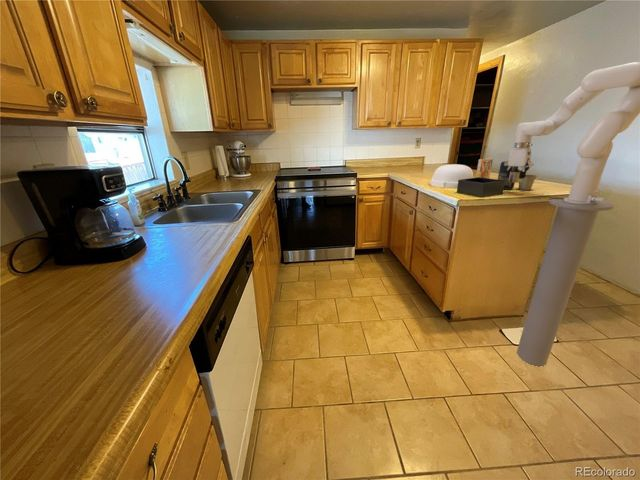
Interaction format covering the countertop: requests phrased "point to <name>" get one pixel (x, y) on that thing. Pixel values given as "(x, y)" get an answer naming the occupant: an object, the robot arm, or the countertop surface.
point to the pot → (515, 176)
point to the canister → (505, 176)
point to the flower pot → (527, 182)
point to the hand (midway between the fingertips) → (515, 177)
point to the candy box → (484, 168)
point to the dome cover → (450, 175)
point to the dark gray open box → (480, 186)
